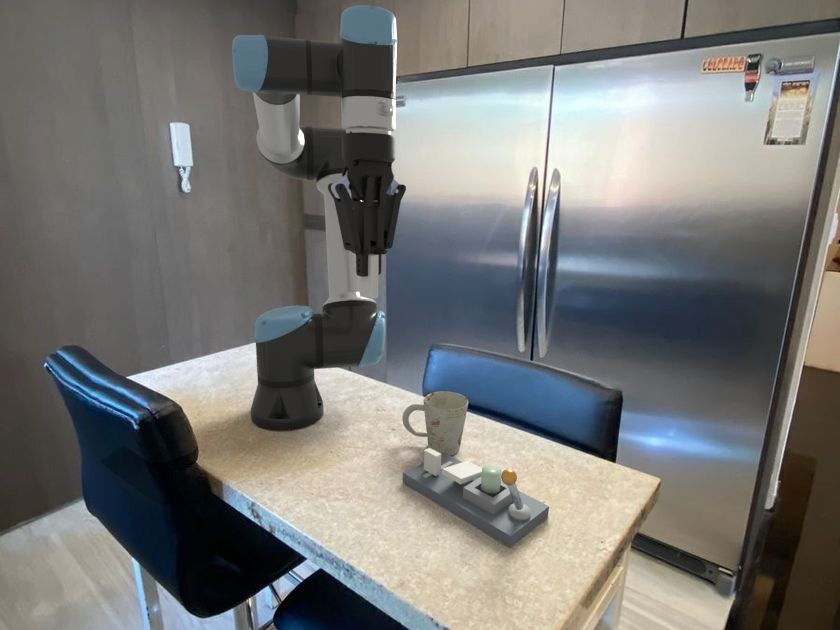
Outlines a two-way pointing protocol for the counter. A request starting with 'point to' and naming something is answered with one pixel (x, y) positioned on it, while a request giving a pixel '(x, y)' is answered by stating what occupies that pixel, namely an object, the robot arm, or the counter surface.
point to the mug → (441, 420)
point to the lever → (512, 487)
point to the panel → (479, 503)
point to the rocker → (462, 472)
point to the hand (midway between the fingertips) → (368, 296)
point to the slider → (432, 461)
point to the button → (491, 479)
